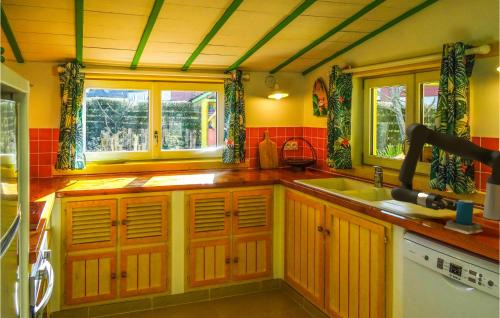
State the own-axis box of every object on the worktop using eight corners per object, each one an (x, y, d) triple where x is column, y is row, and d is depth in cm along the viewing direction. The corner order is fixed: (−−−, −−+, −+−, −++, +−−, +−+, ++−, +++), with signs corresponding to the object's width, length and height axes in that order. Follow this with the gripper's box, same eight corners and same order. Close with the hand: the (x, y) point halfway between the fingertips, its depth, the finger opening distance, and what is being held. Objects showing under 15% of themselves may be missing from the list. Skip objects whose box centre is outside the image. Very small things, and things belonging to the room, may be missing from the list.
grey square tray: (459, 225, 198) (459, 218, 198) (482, 231, 189) (483, 224, 189) (444, 227, 193) (444, 221, 192) (467, 234, 183) (468, 227, 183)
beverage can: (459, 225, 195) (462, 198, 194) (474, 228, 190) (477, 201, 189) (452, 226, 192) (454, 200, 190) (466, 230, 186) (469, 202, 185)
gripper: (420, 193, 201) (453, 200, 187) (440, 191, 208) (472, 198, 194) (419, 209, 202) (451, 217, 188) (438, 207, 209) (470, 214, 195)
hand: (462, 208), depth 191 cm, fingers open, 8 cm apart
